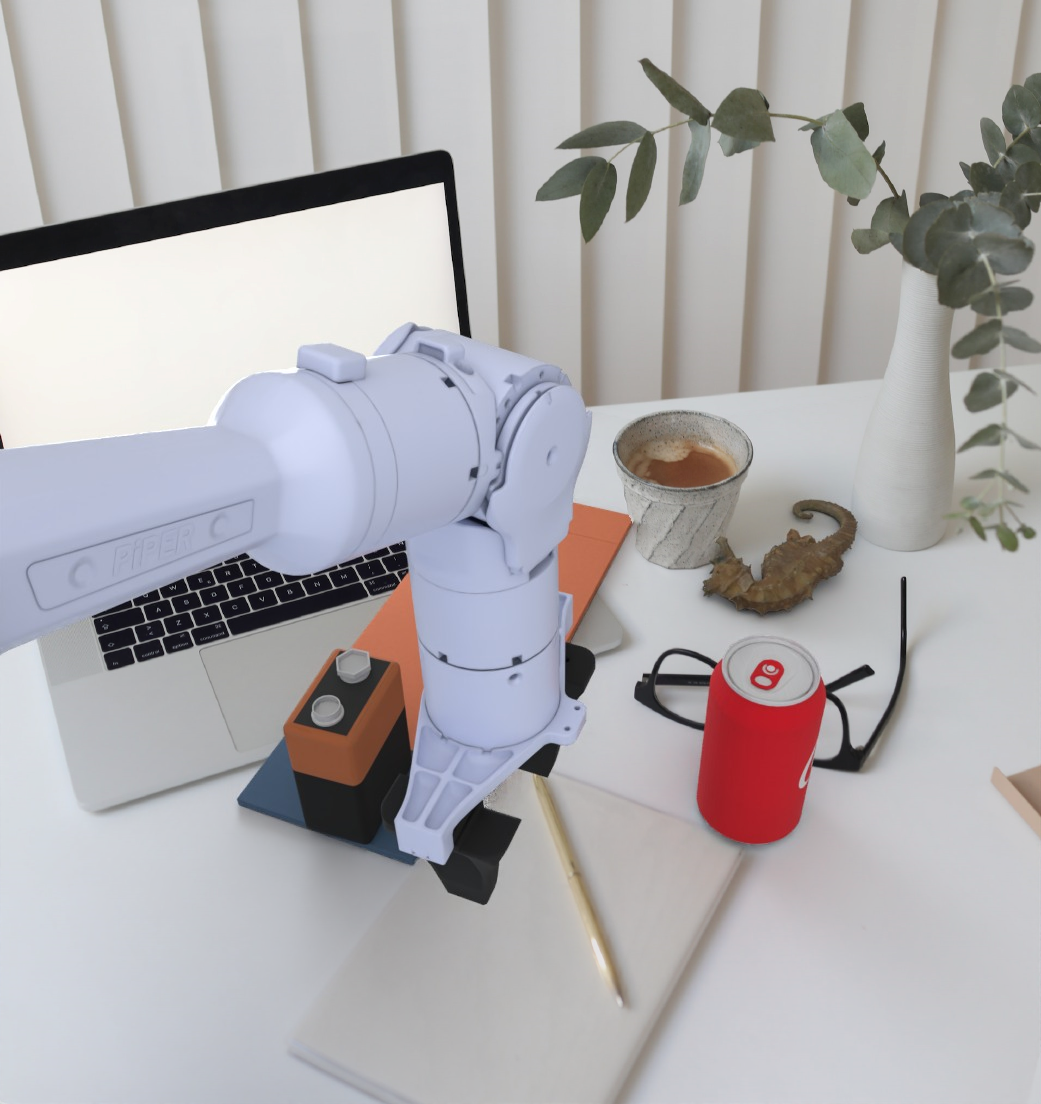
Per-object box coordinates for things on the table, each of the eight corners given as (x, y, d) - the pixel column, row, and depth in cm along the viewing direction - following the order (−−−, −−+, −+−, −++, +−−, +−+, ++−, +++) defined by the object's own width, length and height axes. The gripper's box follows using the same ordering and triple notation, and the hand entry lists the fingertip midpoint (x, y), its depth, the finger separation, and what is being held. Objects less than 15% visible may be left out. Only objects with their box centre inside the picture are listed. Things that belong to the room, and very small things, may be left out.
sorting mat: (444, 877, 61) (443, 870, 61) (237, 805, 66) (235, 797, 65) (634, 521, 87) (634, 514, 87) (477, 486, 91) (476, 479, 91)
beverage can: (815, 795, 65) (848, 653, 58) (776, 869, 61) (806, 727, 54) (720, 754, 68) (740, 613, 60) (677, 822, 64) (693, 681, 56)
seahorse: (904, 553, 83) (912, 521, 81) (755, 641, 76) (760, 608, 74) (813, 499, 89) (819, 468, 87) (668, 575, 82) (670, 543, 80)
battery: (415, 763, 67) (401, 648, 61) (370, 850, 62) (349, 735, 56) (352, 747, 68) (332, 632, 62) (302, 831, 63) (275, 716, 57)
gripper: (509, 785, 36) (522, 989, 45) (638, 534, 47) (628, 740, 55) (329, 729, 39) (374, 934, 47) (489, 501, 49) (502, 704, 57)
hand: (501, 826), depth 51 cm, fingers open, 7 cm apart
